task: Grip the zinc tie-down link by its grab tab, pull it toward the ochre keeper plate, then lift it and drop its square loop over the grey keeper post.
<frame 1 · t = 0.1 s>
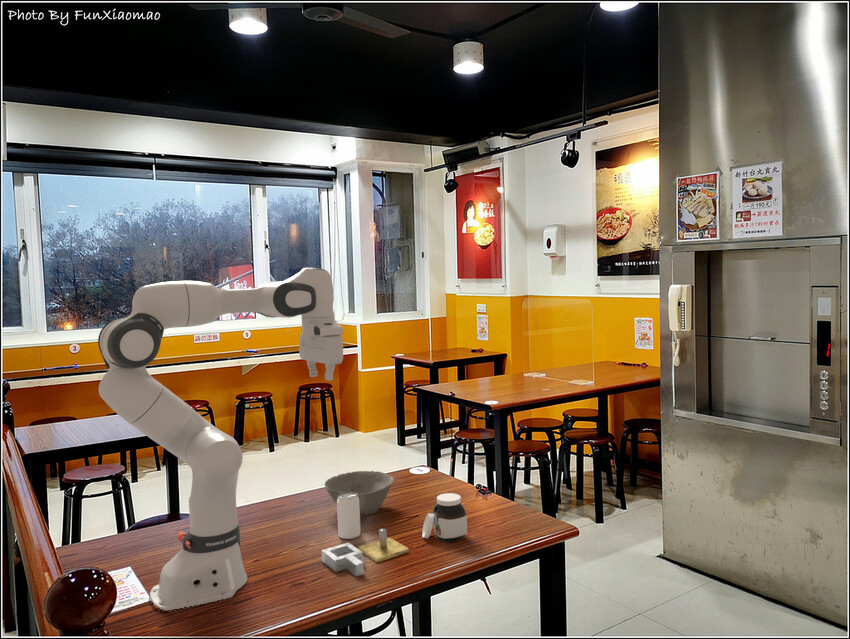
hand: (321, 378, 171), 48 cm above the table, tool pointing down, fingers open, 8 cm apart
keeper post: (383, 551, 172), on the table
ceramic bowl: (361, 512, 203), on the table
can: (349, 535, 184), on the table
link: (342, 562, 166), on the table
spread jar: (443, 538, 180), on the table
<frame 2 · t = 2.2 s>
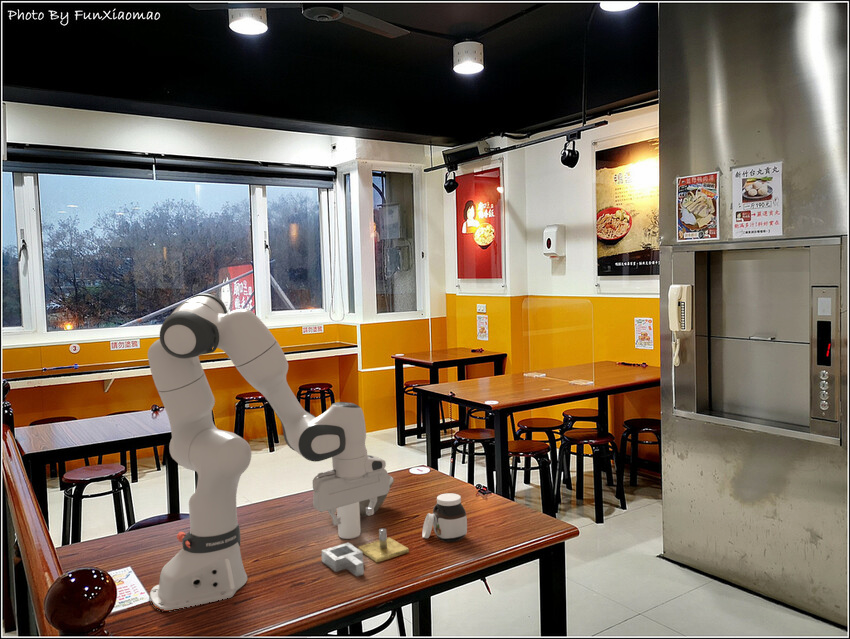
hand: (353, 519, 160), 14 cm above the table, tool pointing down, fingers open, 8 cm apart
nothing on the table moved.
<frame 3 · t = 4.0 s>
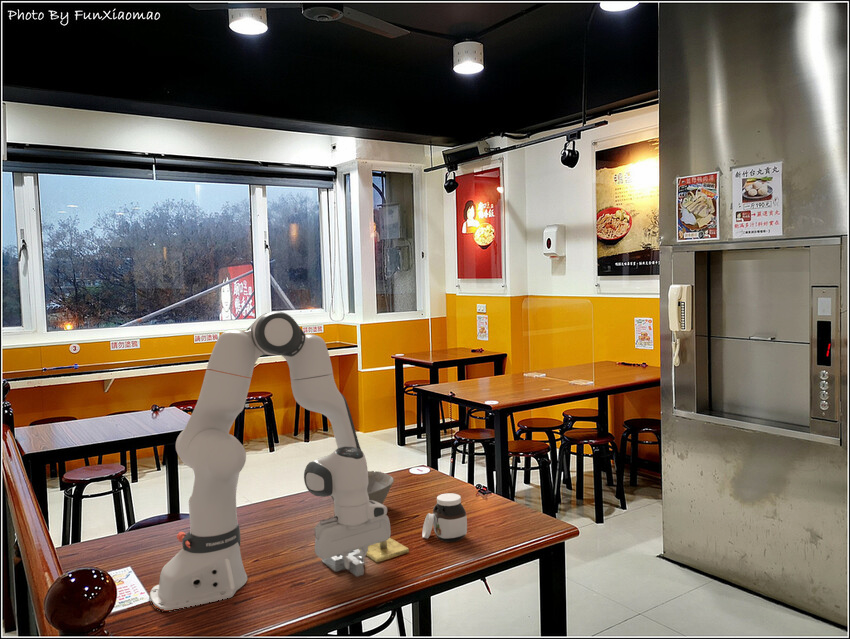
hand: (354, 565, 160), 2 cm above the table, tool pointing down, fingers closed on link, 2 cm apart
link: (342, 562, 166), on the table, touching gripper
everything else where it was.
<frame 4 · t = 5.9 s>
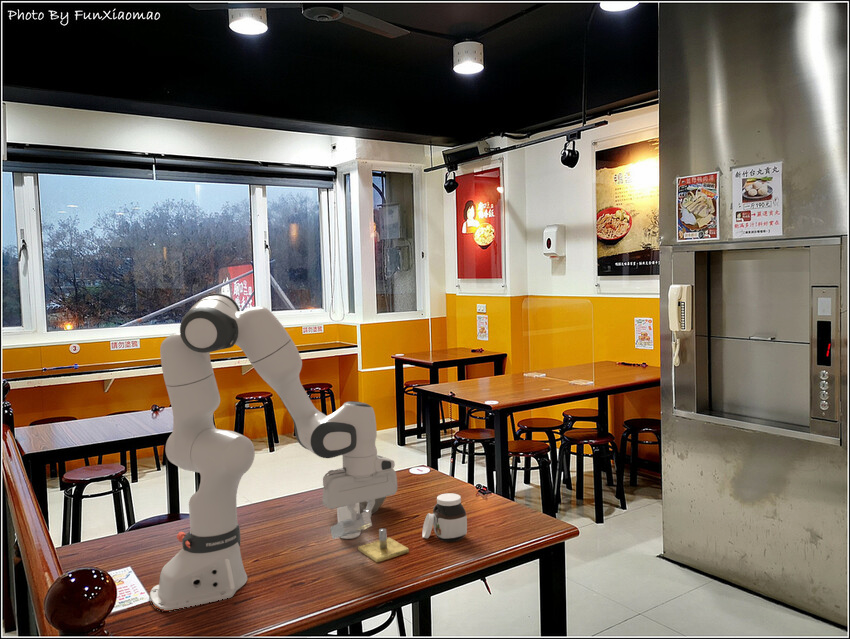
hand: (361, 518, 161), 13 cm above the table, tool pointing down, fingers closed on link
link: (352, 532, 166), point 8 cm above the table, tilted 29°, touching gripper
everything else where it was.
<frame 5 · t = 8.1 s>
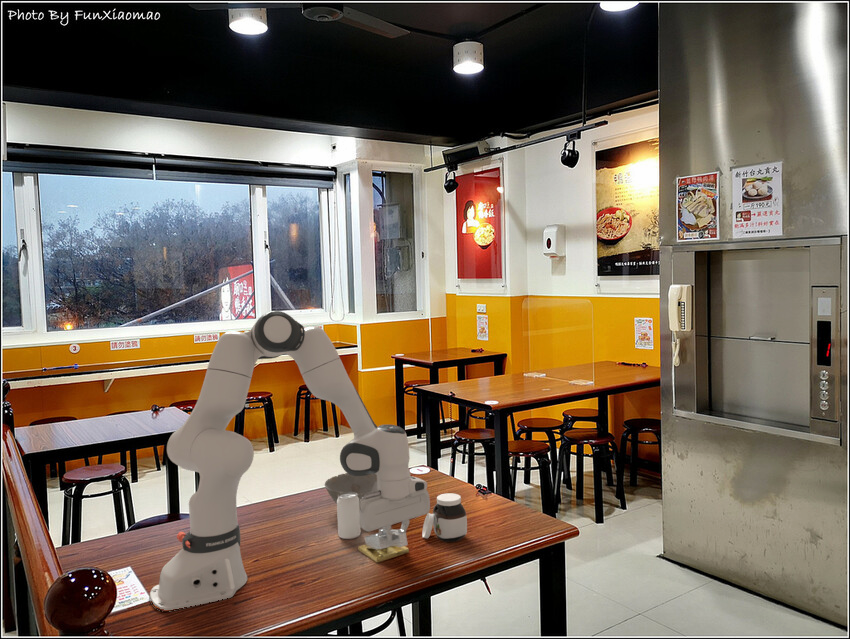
hand: (396, 538, 166), 6 cm above the table, tool pointing down, fingers closed on link, 2 cm apart
link: (386, 544, 171), point 2 cm above the table, tilted 16°, touching gripper, keeper post
everything else where it was.
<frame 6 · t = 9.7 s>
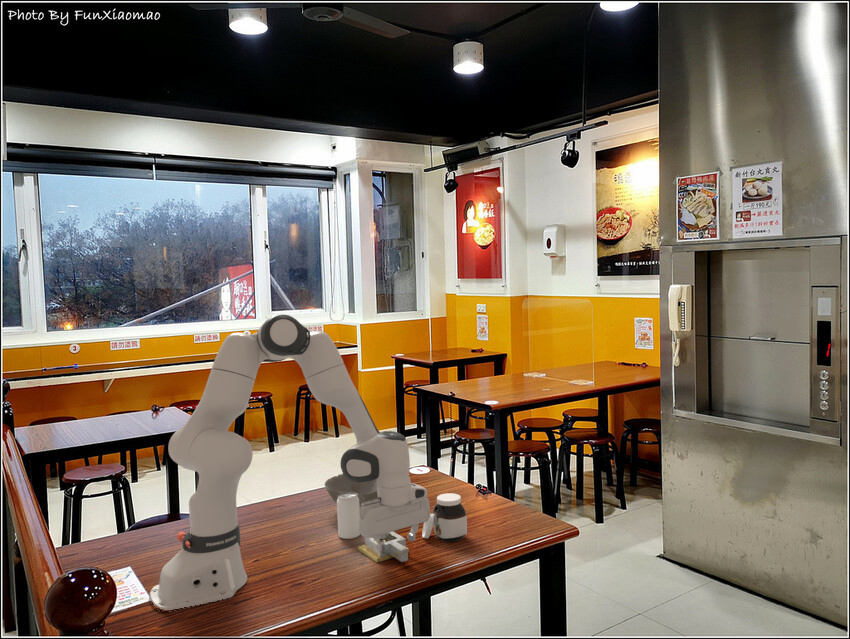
hand: (396, 545, 166), 4 cm above the table, tool pointing down, fingers open, 8 cm apart
link: (385, 548, 171), point 1 cm above the table, touching keeper post
everything else where it was.
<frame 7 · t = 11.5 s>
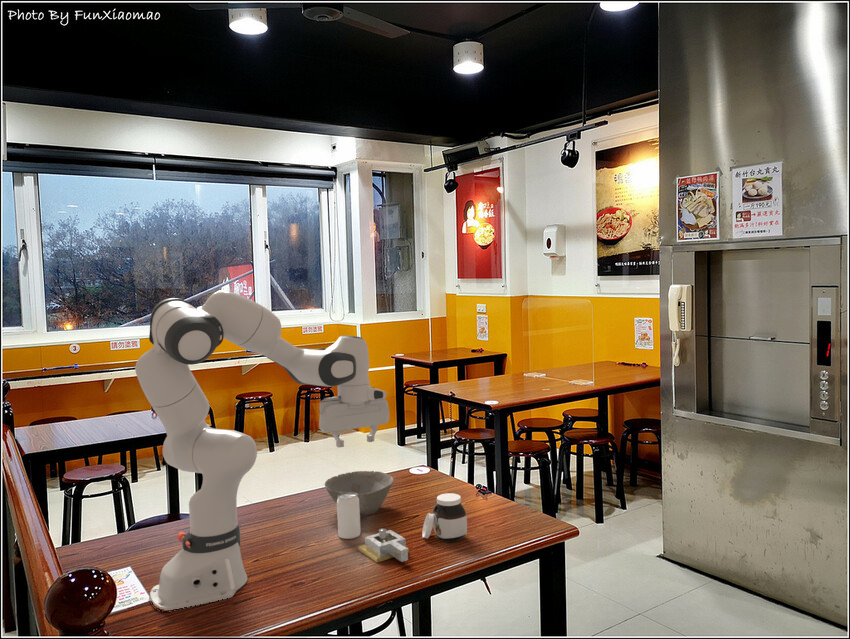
hand: (355, 444, 174), 29 cm above the table, tool pointing down, fingers open, 8 cm apart
nothing on the table moved.
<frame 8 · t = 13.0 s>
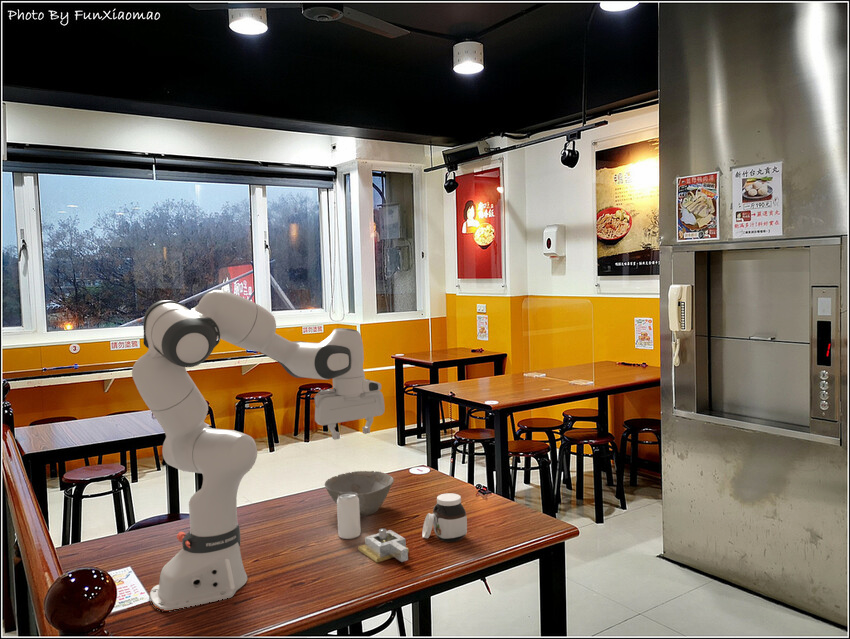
hand: (351, 436, 175), 31 cm above the table, tool pointing down, fingers open, 8 cm apart
nothing on the table moved.
at the end: link 1.0 cm from the keeper post (horizontally); link point 1.0 cm above the table; the gripper is holding nothing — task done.
